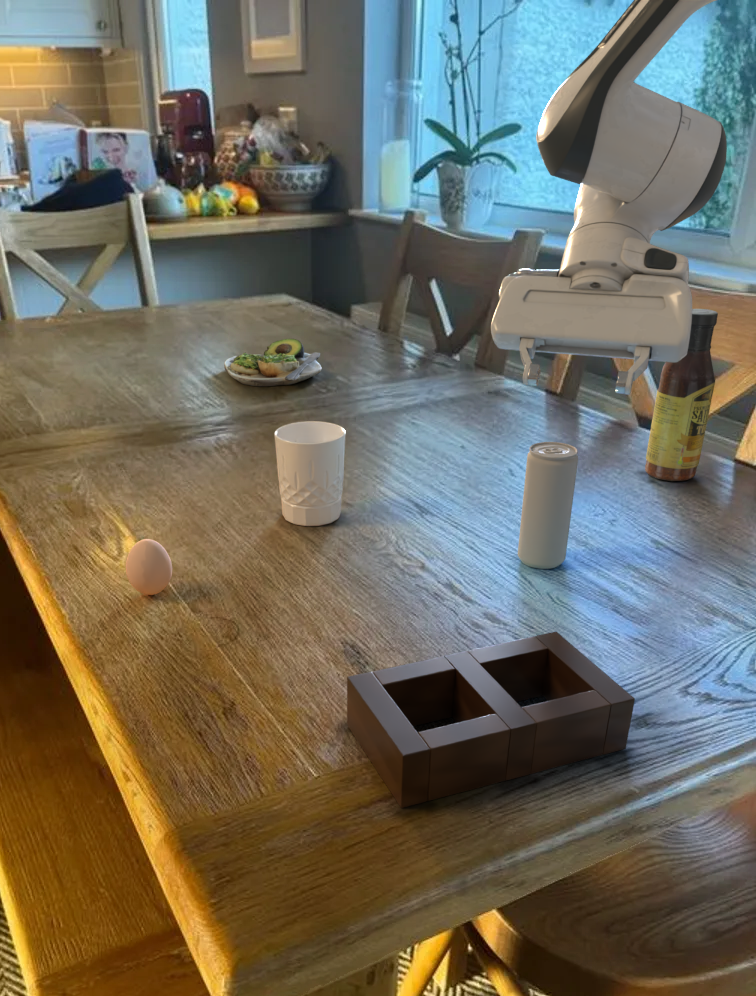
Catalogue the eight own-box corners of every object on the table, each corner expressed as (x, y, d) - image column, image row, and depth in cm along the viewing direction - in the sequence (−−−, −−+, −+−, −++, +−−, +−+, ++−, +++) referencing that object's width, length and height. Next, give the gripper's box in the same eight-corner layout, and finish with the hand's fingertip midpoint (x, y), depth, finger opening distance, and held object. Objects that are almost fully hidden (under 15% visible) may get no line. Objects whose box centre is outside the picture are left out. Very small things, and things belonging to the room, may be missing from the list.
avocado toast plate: (338, 386, 152) (338, 359, 149) (232, 394, 149) (231, 366, 147) (316, 358, 168) (316, 333, 166) (221, 365, 166) (219, 339, 164)
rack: (550, 677, 74) (556, 631, 72) (626, 749, 66) (635, 698, 64) (346, 725, 69) (346, 676, 67) (401, 808, 61) (403, 756, 59)
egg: (180, 584, 90) (175, 532, 88) (165, 605, 87) (159, 552, 84) (139, 580, 91) (132, 529, 89) (121, 601, 88) (114, 548, 85)
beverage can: (572, 568, 91) (587, 455, 86) (527, 573, 91) (539, 459, 85) (553, 548, 96) (566, 439, 90) (510, 552, 95) (520, 443, 89)
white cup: (286, 500, 109) (283, 419, 104) (350, 504, 107) (350, 422, 103) (270, 526, 102) (266, 441, 97) (339, 531, 101) (338, 445, 96)
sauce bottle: (689, 487, 109) (722, 319, 100) (637, 478, 113) (664, 314, 103) (701, 470, 114) (734, 308, 105) (651, 462, 117) (678, 304, 108)
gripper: (502, 250, 98) (473, 362, 95) (705, 258, 90) (680, 379, 87) (508, 286, 103) (480, 393, 100) (699, 296, 96) (676, 411, 93)
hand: (575, 387), depth 94 cm, fingers open, 8 cm apart
